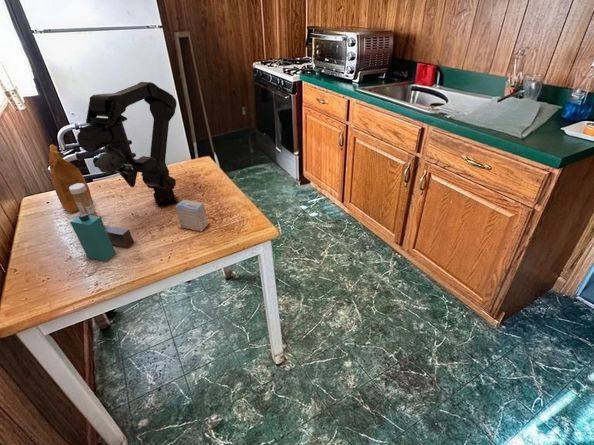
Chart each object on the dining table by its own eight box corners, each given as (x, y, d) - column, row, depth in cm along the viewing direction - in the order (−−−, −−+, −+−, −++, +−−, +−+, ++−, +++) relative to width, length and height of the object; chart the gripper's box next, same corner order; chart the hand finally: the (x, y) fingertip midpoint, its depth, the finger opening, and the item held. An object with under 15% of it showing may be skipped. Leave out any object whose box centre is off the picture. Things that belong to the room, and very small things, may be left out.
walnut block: (107, 237, 105) (102, 224, 102) (134, 242, 103) (129, 229, 100) (100, 243, 103) (94, 230, 100) (127, 248, 100) (122, 234, 98)
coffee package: (89, 193, 130) (66, 139, 117) (97, 206, 122) (73, 149, 109) (60, 202, 124) (33, 146, 112) (67, 215, 116) (38, 157, 104)
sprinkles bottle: (100, 221, 113) (85, 186, 106) (85, 225, 111) (68, 190, 104) (98, 215, 116) (83, 181, 109) (83, 219, 114) (68, 185, 107)
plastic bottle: (107, 230, 103) (73, 209, 90) (125, 233, 101) (93, 212, 89) (92, 260, 99) (55, 242, 86) (110, 264, 97) (75, 246, 85)
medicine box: (208, 224, 110) (204, 202, 105) (201, 232, 107) (196, 209, 102) (188, 220, 112) (183, 198, 107) (180, 228, 109) (174, 205, 104)
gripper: (69, 147, 93) (89, 195, 102) (124, 152, 88) (141, 202, 97) (98, 133, 102) (115, 179, 111) (150, 138, 97) (163, 185, 106)
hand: (132, 186), depth 106 cm, fingers closed
